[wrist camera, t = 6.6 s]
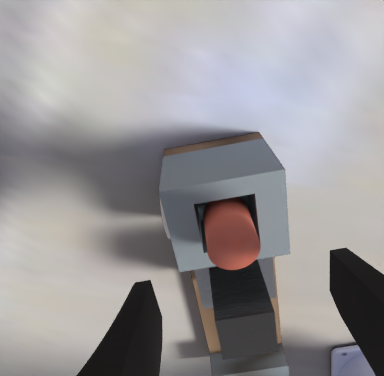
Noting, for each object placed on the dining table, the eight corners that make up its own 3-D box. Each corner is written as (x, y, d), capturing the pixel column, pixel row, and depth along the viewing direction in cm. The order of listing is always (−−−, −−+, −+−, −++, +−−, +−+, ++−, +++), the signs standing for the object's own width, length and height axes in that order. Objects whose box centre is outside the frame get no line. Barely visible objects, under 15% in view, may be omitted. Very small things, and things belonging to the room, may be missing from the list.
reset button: (245, 190, 17) (257, 222, 14) (250, 229, 18) (262, 265, 15) (199, 198, 17) (203, 231, 15) (206, 236, 18) (211, 273, 16)
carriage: (265, 236, 22) (292, 304, 16) (269, 278, 23) (295, 352, 18) (192, 248, 22) (196, 319, 17) (201, 289, 23) (207, 365, 18)
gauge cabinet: (263, 138, 20) (284, 169, 15) (269, 210, 22) (290, 253, 18) (157, 157, 20) (152, 192, 16) (174, 226, 22) (173, 273, 18)
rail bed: (259, 132, 21) (271, 150, 18) (279, 346, 30) (289, 381, 27) (163, 149, 21) (161, 170, 18) (212, 356, 30) (215, 392, 27)
